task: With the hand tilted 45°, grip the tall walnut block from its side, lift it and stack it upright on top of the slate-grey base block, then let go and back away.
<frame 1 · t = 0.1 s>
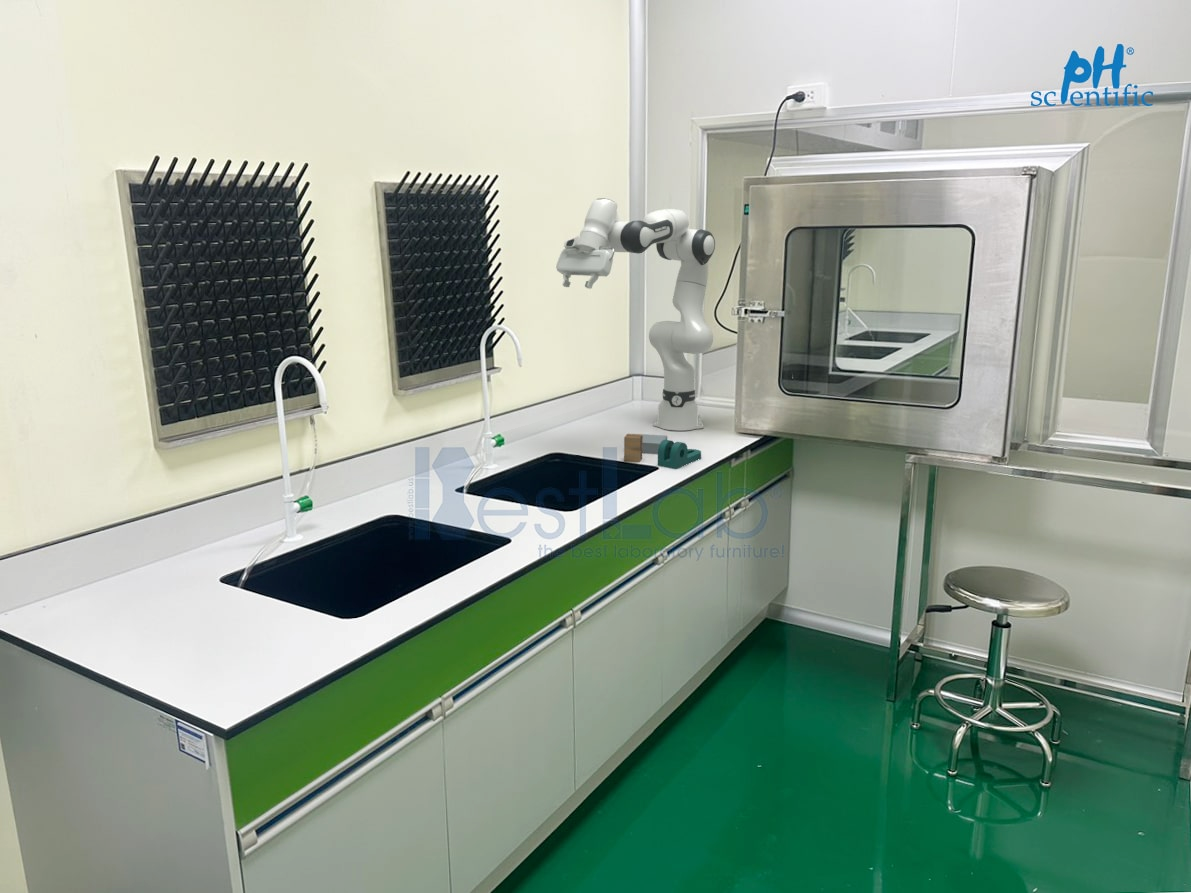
hand: (576, 287, 269), 54 cm above the worktop, tool tilted 30°, fingers open, 8 cm apart
slate base: (646, 450, 291), on the worktop
walnut block: (633, 460, 277), on the worktop
bracket: (681, 462, 276), on the worktop
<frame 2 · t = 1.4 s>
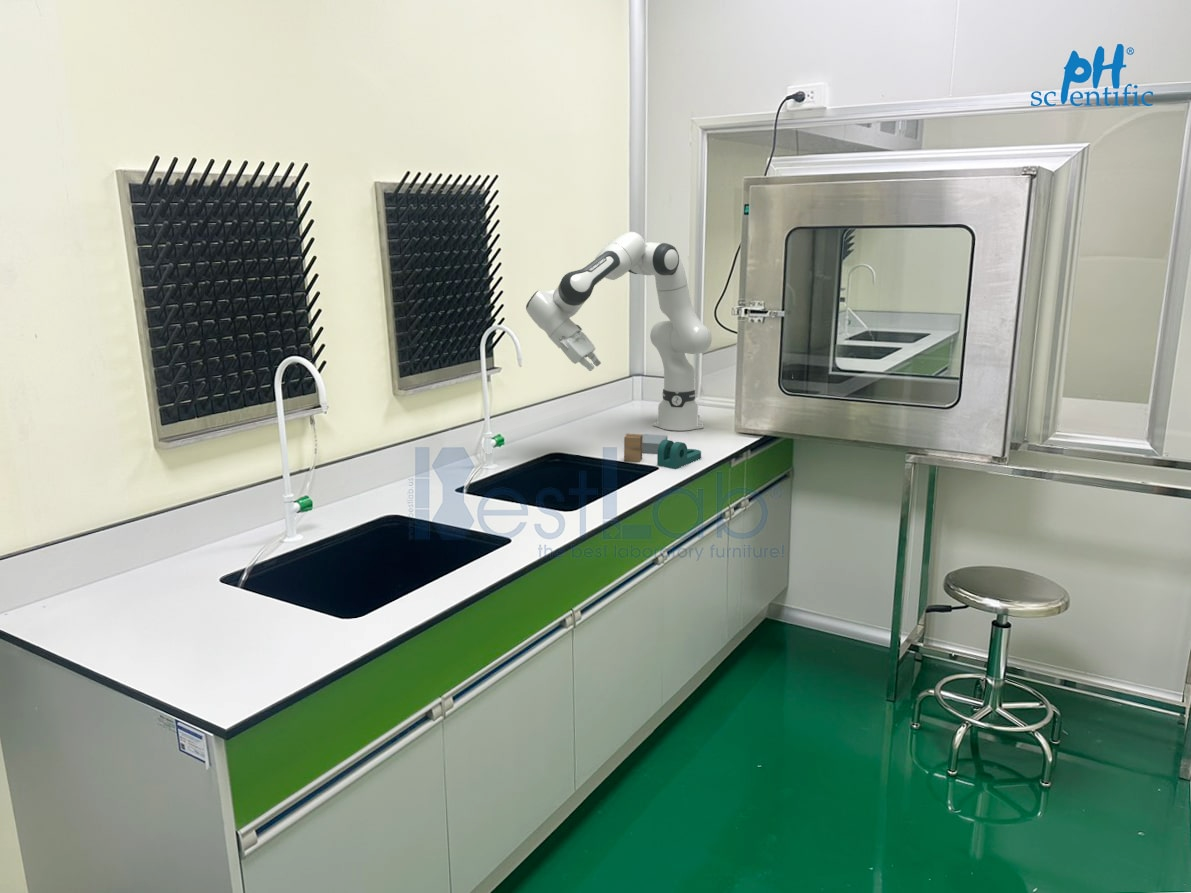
hand: (595, 367, 273), 29 cm above the worktop, tool tilted 45°, fingers open, 8 cm apart
nothing on the worktop moved.
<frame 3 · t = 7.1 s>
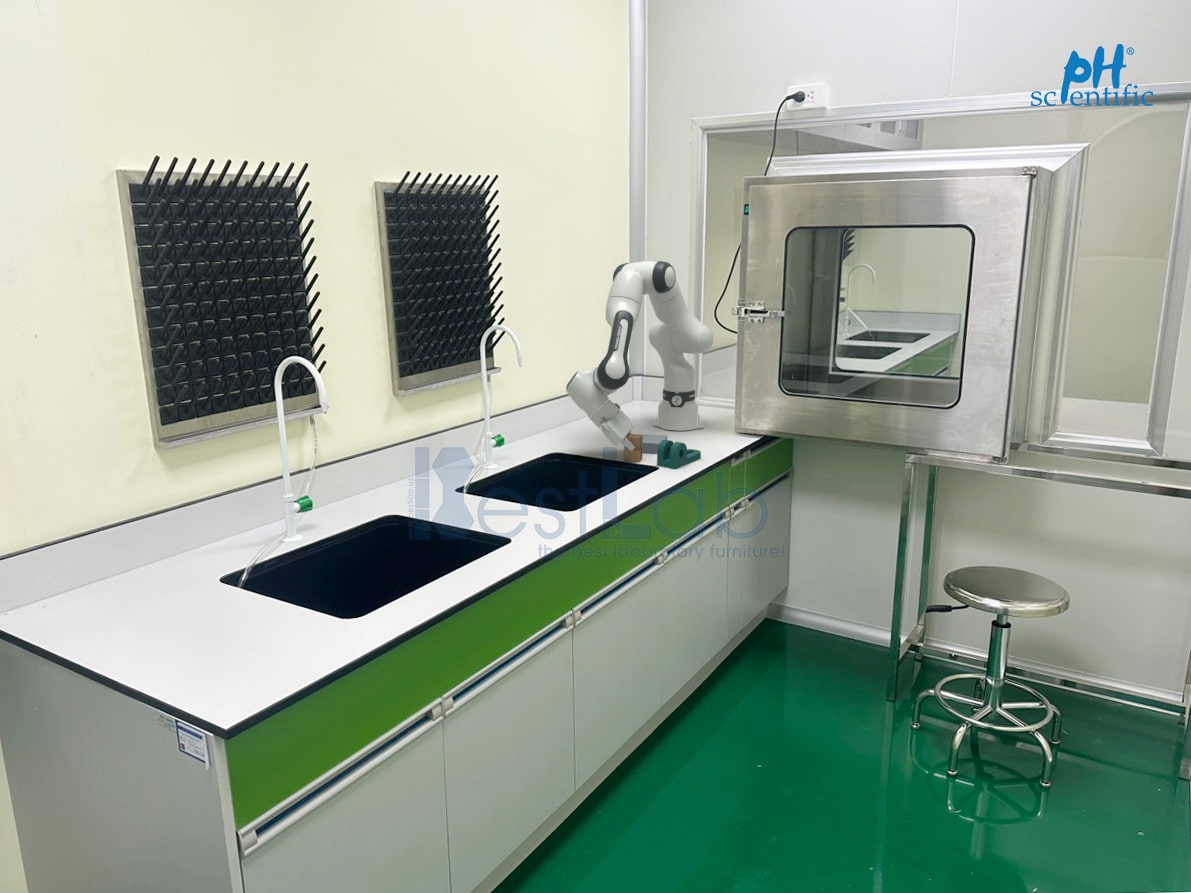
hand: (635, 446, 276), 4 cm above the worktop, tool tilted 45°, fingers closed on walnut block, 5 cm apart
walnut block: (633, 459, 277), on the worktop, touching gripper
everything else where it was.
when the fingers open (10 cm above the worktop, at t = 12.3 s): walnut block drops 2 cm, resting on slate base.
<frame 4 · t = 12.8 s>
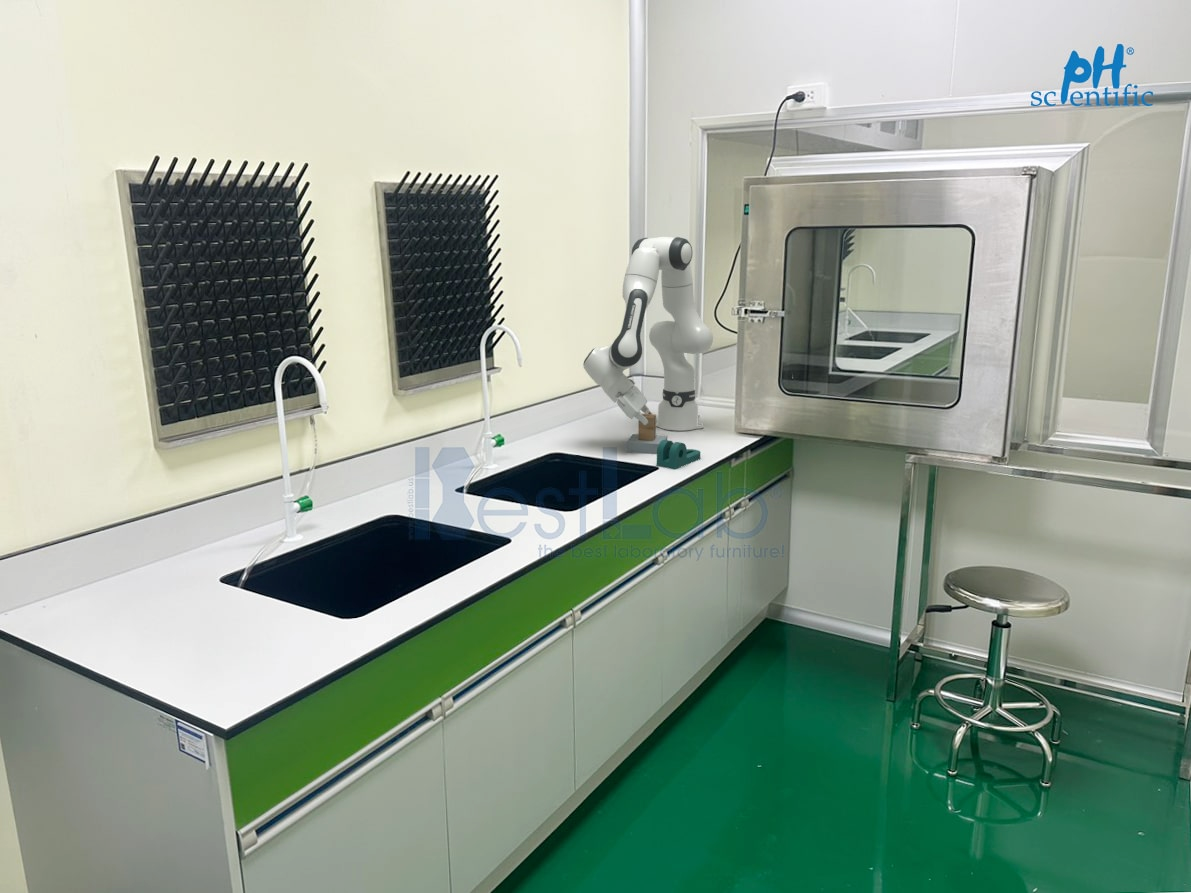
hand: (649, 420, 289), 10 cm above the worktop, tool tilted 45°, fingers open, 8 cm apart
slate base: (646, 450, 291), on the worktop, touching walnut block
walnut block: (646, 438, 290), point 3 cm above the worktop, touching slate base
everything else where it was.
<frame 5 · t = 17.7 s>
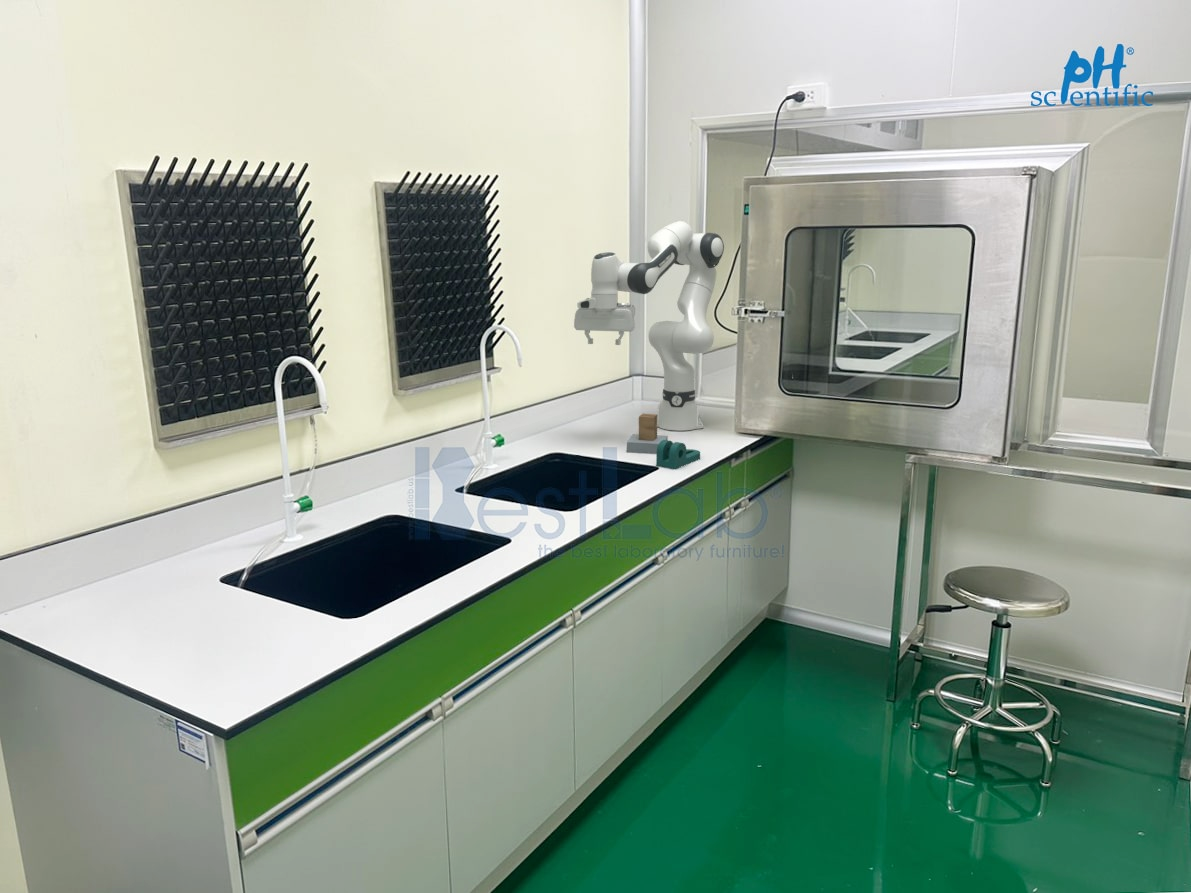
hand: (604, 344, 291), 34 cm above the worktop, tool pointing down, fingers open, 8 cm apart
nothing on the worktop moved.
at the end: walnut block inside the target area on the slate base (0.1 cm from its centre), point 4.0 cm above the slate base's base; walnut block tilted 0°; the gripper is holding nothing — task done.
